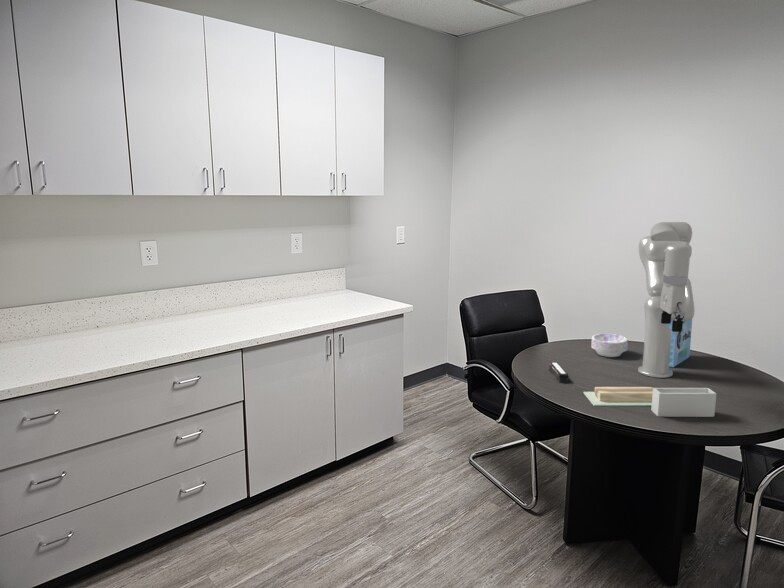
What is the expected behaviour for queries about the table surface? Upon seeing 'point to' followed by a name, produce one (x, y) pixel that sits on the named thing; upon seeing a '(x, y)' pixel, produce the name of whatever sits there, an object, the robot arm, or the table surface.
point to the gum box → (680, 344)
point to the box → (683, 402)
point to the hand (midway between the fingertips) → (671, 327)
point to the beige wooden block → (624, 393)
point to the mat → (596, 402)
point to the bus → (558, 372)
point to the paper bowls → (609, 344)
